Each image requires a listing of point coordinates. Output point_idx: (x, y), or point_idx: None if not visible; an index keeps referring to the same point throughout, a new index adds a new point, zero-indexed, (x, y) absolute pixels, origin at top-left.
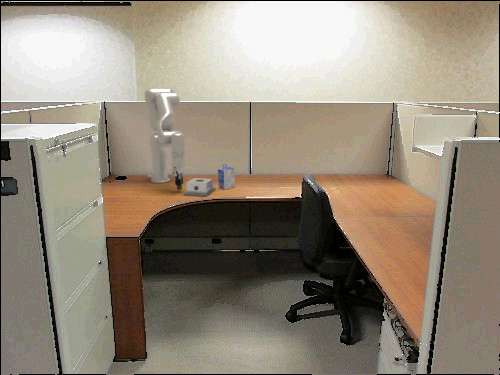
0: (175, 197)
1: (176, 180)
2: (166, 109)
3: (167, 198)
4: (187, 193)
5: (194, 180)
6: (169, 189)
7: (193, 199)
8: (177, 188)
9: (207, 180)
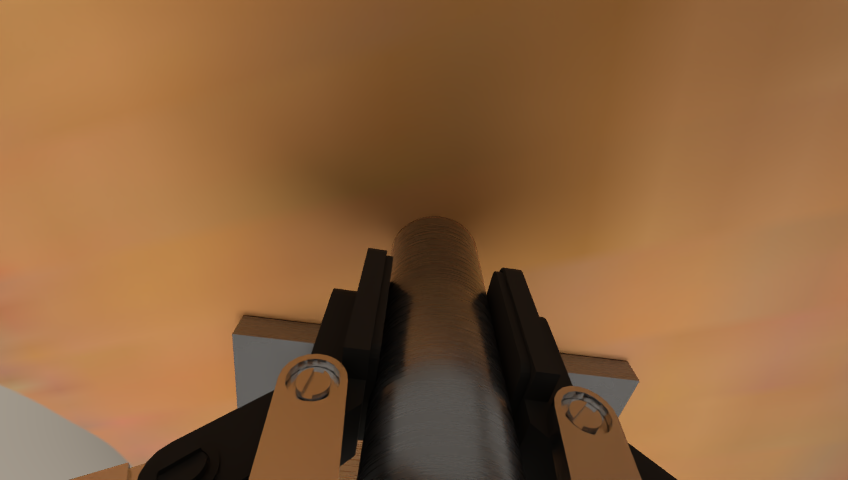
0: (118, 242)
1: (315, 353)
2: None
3: (8, 141)
4: (252, 374)
5: None
6: (619, 10)
7: (124, 427)
8: (398, 239)
9: None
